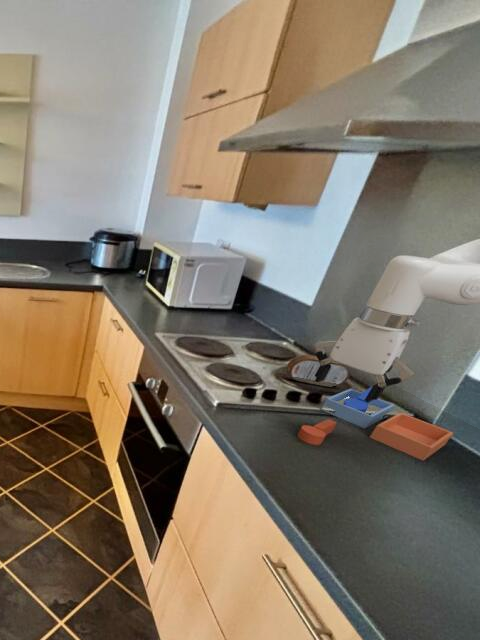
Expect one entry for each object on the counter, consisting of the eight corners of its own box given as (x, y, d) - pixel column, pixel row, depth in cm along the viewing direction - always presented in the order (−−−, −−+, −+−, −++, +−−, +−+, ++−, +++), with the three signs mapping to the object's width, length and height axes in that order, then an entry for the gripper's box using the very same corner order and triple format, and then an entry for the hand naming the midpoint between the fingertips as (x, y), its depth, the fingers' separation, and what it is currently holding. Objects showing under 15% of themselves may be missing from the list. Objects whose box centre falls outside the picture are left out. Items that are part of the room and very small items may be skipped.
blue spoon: (382, 400, 109) (386, 391, 107) (358, 419, 105) (362, 410, 104) (361, 392, 112) (365, 384, 111) (337, 410, 109) (341, 402, 107)
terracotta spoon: (338, 435, 99) (343, 425, 97) (315, 447, 93) (321, 436, 92) (316, 425, 102) (321, 415, 101) (293, 436, 97) (298, 426, 96)
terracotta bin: (444, 444, 98) (453, 432, 96) (423, 460, 91) (432, 448, 90) (392, 424, 105) (400, 412, 104) (369, 437, 99) (377, 425, 97)
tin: (338, 386, 123) (352, 361, 119) (343, 391, 121) (357, 365, 117) (281, 376, 127) (292, 351, 123) (284, 381, 124) (296, 355, 121)
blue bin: (387, 416, 109) (395, 404, 107) (364, 428, 102) (372, 416, 101) (344, 399, 116) (350, 388, 114) (320, 409, 110) (326, 398, 108)
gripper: (447, 330, 81) (397, 405, 89) (343, 304, 94) (308, 371, 102) (433, 335, 77) (383, 412, 85) (328, 307, 90) (293, 376, 98)
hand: (342, 390), depth 94 cm, fingers open, 9 cm apart
